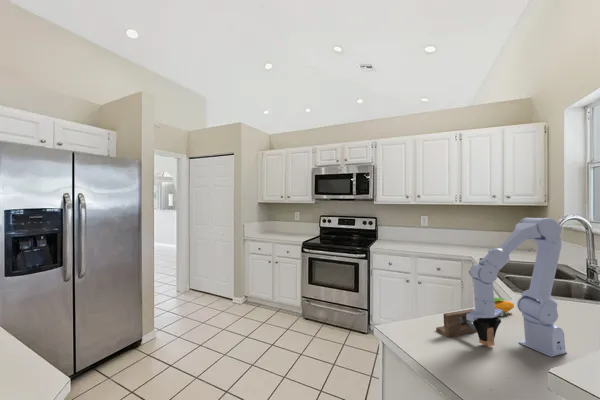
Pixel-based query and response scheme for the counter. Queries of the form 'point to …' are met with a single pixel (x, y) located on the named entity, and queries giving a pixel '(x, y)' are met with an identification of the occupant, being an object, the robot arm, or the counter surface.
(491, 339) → the hook pin
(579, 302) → the counter surface
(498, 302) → the corn
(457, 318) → the slotted wooden block
